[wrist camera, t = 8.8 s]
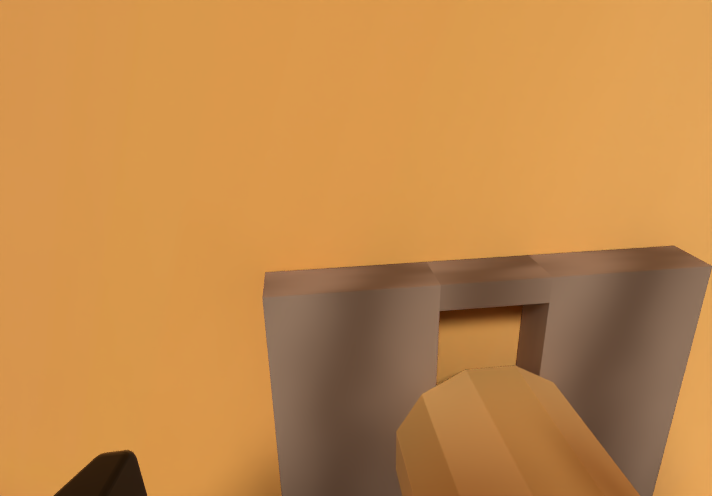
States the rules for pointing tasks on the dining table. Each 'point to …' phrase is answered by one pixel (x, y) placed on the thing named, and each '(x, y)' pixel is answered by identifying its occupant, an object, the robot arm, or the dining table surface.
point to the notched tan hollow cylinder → (501, 441)
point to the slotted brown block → (420, 349)
